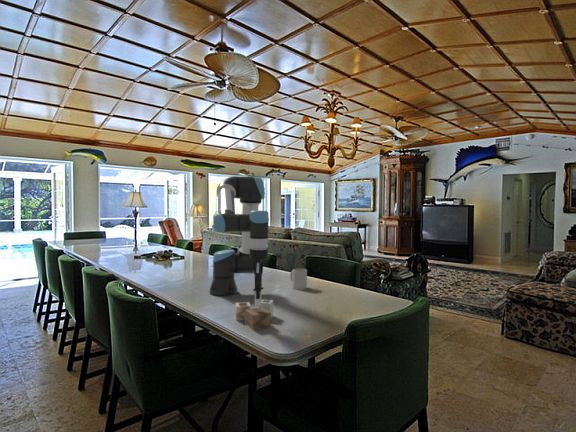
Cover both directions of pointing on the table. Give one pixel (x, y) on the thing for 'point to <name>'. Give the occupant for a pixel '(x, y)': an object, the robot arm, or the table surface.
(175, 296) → the table surface
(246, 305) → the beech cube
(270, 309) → the pale square cup
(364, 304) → the table surface
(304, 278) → the mug
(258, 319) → the walnut block
